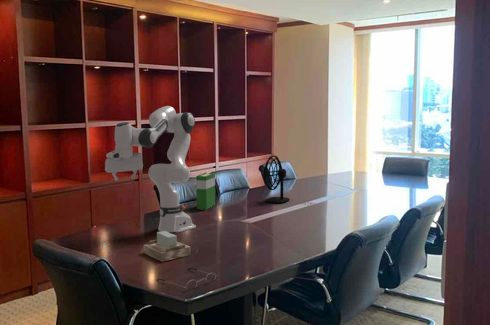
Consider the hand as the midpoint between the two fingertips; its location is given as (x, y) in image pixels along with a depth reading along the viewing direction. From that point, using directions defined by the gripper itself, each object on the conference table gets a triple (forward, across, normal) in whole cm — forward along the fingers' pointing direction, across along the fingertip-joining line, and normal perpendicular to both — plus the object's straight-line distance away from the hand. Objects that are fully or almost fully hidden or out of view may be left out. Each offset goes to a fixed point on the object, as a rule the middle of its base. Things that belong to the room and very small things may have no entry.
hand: (124, 179), depth 250 cm
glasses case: (+30, -6, +31) cm, 44 cm away
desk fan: (+34, -138, -27) cm, 145 cm away
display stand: (+34, -6, +31) cm, 46 cm away
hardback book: (+34, -84, -44) cm, 101 cm away
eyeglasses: (+35, +6, +67) cm, 76 cm away
